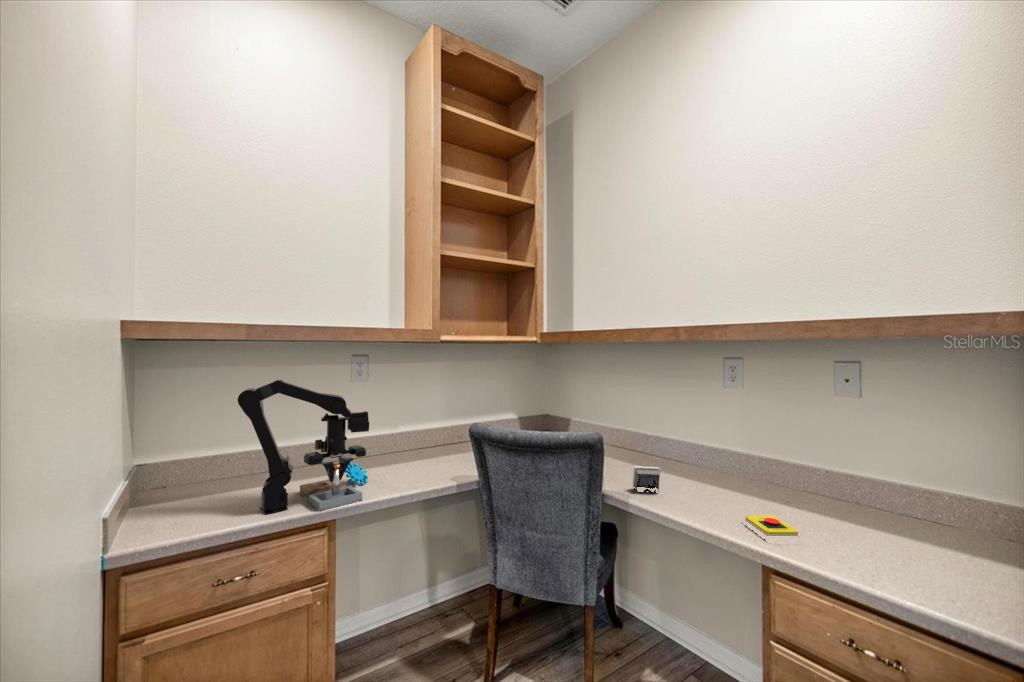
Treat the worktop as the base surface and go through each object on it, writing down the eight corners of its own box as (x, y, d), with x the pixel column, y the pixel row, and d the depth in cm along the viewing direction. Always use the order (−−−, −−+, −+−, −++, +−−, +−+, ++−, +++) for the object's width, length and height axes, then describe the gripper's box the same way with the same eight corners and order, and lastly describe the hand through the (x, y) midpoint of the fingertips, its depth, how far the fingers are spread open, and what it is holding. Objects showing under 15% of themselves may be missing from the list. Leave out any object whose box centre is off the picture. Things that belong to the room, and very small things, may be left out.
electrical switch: (658, 490, 161) (659, 465, 161) (661, 496, 156) (662, 470, 156) (632, 488, 163) (632, 464, 162) (634, 495, 158) (634, 469, 157)
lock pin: (332, 496, 144) (332, 466, 144) (328, 494, 146) (328, 464, 146) (342, 494, 146) (342, 464, 146) (338, 491, 149) (338, 462, 149)
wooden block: (307, 499, 148) (308, 490, 148) (299, 493, 153) (299, 485, 154) (343, 491, 156) (343, 483, 156) (334, 486, 162) (334, 478, 162)
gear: (355, 485, 158) (342, 462, 162) (344, 495, 159) (332, 473, 163) (375, 480, 168) (363, 459, 172) (365, 490, 170) (353, 469, 173)
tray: (319, 511, 138) (319, 503, 138) (308, 502, 145) (308, 495, 145) (362, 500, 147) (362, 493, 147) (349, 493, 155) (349, 486, 155)
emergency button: (770, 529, 118) (739, 508, 133) (769, 546, 118) (739, 523, 133) (804, 529, 118) (769, 508, 133) (804, 546, 118) (769, 523, 133)
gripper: (353, 426, 159) (352, 470, 158) (298, 433, 146) (297, 480, 145) (367, 431, 151) (366, 477, 150) (310, 439, 138) (309, 489, 137)
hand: (335, 480), depth 146 cm, fingers closed on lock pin, 3 cm apart
